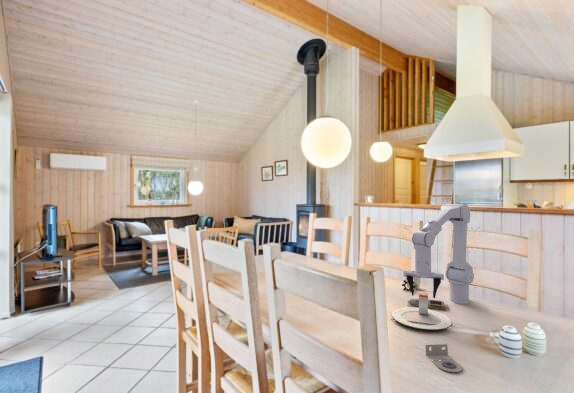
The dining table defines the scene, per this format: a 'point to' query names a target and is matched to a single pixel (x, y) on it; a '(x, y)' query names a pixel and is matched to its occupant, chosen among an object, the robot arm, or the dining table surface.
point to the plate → (398, 313)
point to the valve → (415, 284)
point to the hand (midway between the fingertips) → (423, 296)
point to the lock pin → (423, 303)
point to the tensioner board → (430, 304)
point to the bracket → (444, 363)
